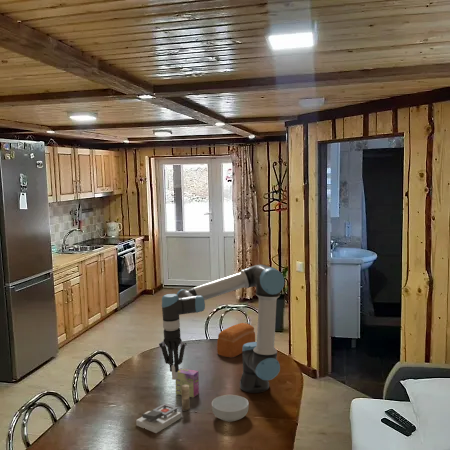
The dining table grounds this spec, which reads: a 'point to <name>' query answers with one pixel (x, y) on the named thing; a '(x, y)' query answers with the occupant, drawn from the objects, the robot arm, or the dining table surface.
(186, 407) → the dowel
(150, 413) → the rocker
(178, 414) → the box
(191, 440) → the dining table surface
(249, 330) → the bread
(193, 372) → the box
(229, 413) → the cereal bowl
